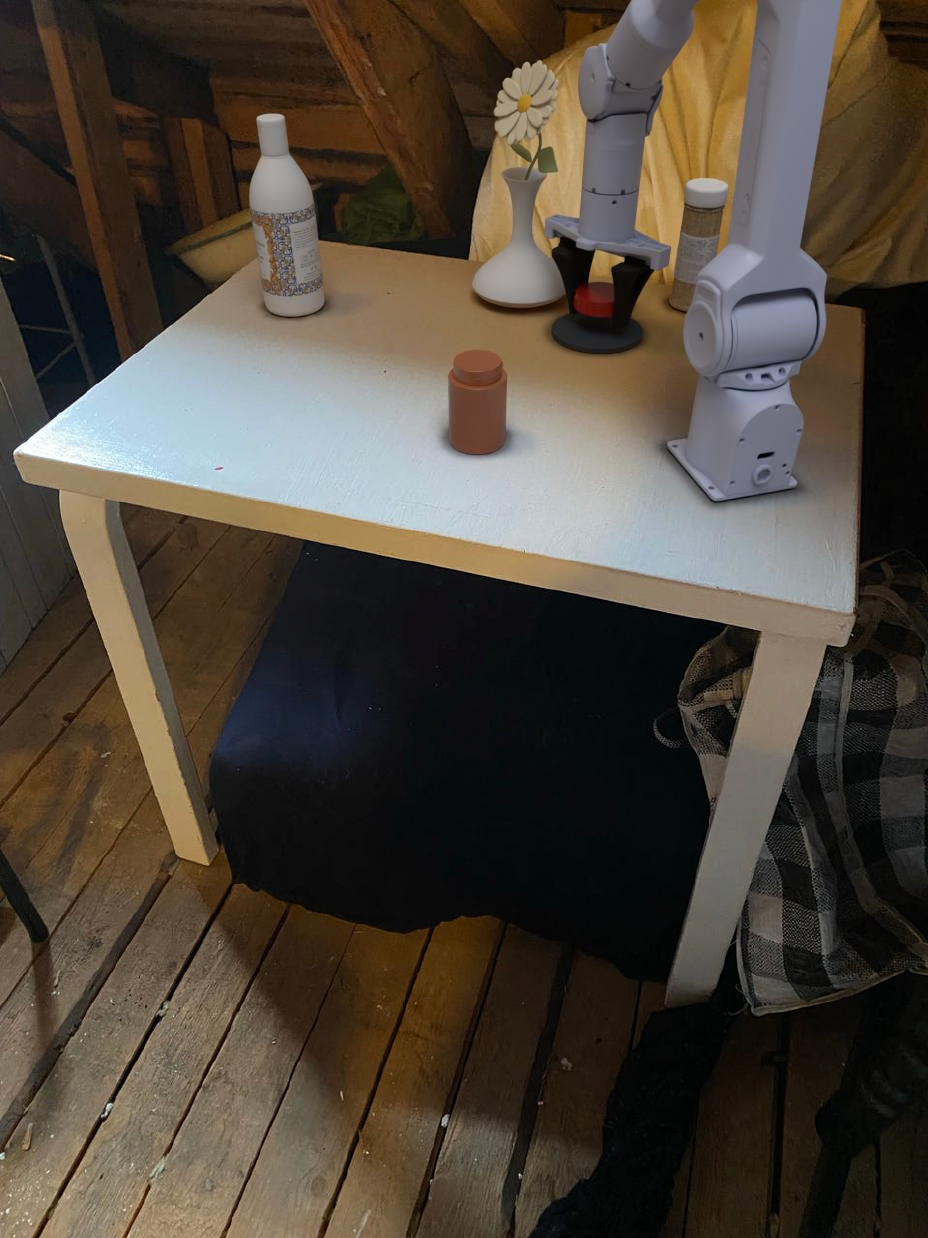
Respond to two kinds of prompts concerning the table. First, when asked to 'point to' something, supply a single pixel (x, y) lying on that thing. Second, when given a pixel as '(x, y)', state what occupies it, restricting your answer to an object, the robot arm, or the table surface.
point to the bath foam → (284, 226)
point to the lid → (595, 299)
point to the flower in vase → (523, 195)
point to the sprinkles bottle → (697, 236)
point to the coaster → (595, 334)
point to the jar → (477, 402)
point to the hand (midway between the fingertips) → (598, 318)
